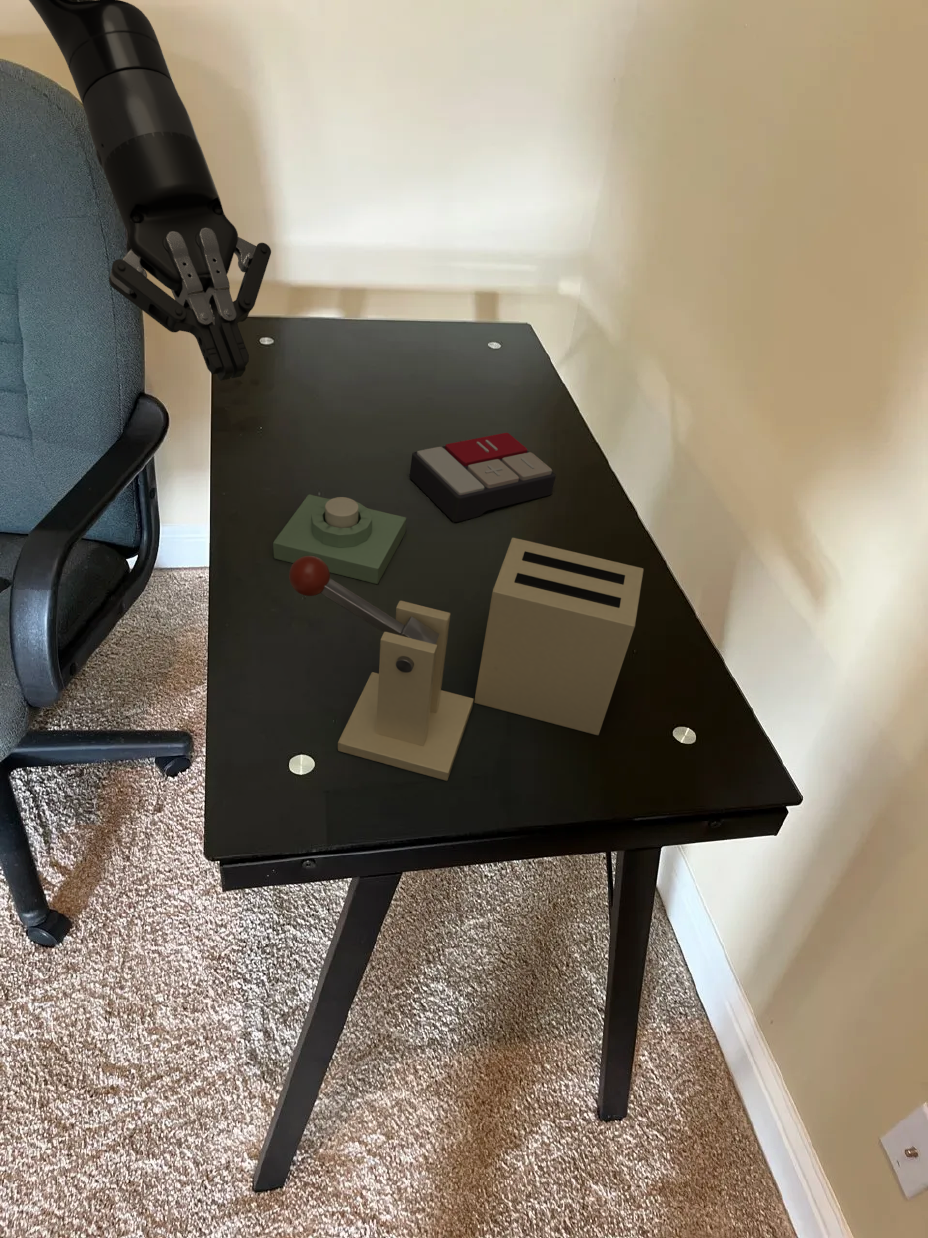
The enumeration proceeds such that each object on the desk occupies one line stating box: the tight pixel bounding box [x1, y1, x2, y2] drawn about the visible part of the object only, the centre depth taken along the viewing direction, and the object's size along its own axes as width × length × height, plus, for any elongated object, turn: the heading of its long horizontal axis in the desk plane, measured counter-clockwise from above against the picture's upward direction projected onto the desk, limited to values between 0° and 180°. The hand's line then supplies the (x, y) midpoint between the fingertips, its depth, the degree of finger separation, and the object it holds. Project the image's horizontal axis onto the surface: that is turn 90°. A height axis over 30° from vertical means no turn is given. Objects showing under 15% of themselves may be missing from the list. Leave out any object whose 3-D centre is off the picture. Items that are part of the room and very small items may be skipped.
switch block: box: [272, 493, 407, 585], centre depth 92 cm, size 12×10×4 cm
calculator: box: [409, 432, 557, 523], centre depth 104 cm, size 11×4×15 cm
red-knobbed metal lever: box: [288, 556, 440, 644], centre depth 67 cm, size 13×3×3 cm, turn 76°
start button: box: [325, 496, 358, 528], centre depth 90 cm, size 4×4×2 cm
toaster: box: [473, 537, 644, 736], centre depth 75 cm, size 12×8×14 cm, turn 76°
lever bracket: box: [337, 600, 475, 782], centre depth 71 cm, size 10×9×13 cm
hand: (233, 374), depth 65 cm, fingers closed
